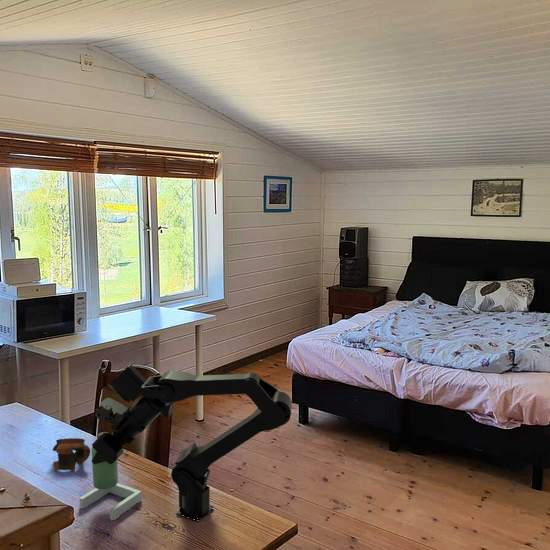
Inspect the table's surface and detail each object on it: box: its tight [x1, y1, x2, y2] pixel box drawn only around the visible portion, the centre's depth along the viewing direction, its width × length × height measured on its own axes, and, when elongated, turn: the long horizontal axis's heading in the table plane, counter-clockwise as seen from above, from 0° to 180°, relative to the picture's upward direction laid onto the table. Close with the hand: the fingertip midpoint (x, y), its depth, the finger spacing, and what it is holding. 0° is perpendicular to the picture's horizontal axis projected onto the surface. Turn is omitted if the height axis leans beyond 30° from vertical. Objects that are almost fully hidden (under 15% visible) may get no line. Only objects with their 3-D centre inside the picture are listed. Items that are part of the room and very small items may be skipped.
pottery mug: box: [51, 437, 91, 471], centre depth 152 cm, size 12×10×8 cm
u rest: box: [79, 482, 143, 521], centre depth 132 cm, size 10×10×2 cm
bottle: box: [90, 431, 119, 489], centre depth 131 cm, size 6×6×12 cm
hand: (98, 456), depth 131 cm, fingers closed on bottle, 6 cm apart
